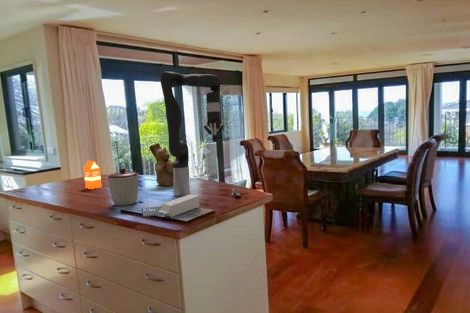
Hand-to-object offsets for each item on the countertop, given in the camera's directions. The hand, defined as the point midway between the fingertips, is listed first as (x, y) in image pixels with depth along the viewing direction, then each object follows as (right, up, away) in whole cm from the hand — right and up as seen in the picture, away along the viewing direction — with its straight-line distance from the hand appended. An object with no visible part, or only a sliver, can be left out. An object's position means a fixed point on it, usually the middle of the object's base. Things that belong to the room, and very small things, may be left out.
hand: (215, 141), depth 199 cm
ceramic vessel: (-40, -29, +58) cm, 76 cm away
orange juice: (-93, -32, +61) cm, 116 cm away
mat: (-25, -36, -15) cm, 47 cm away
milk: (-10, -31, -14) cm, 35 cm away
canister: (-52, -36, +5) cm, 63 cm away
